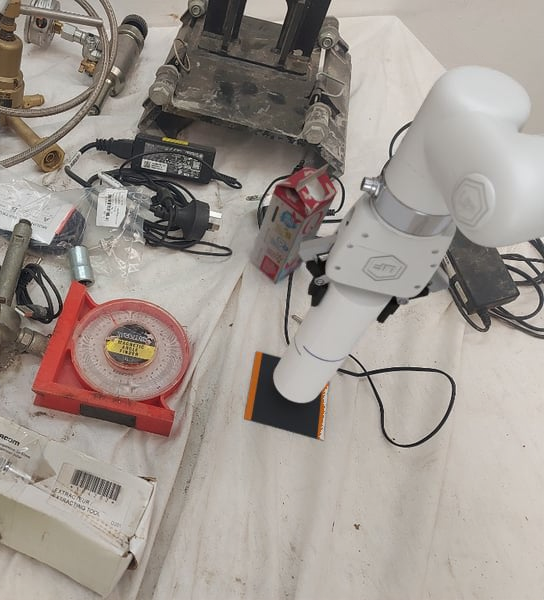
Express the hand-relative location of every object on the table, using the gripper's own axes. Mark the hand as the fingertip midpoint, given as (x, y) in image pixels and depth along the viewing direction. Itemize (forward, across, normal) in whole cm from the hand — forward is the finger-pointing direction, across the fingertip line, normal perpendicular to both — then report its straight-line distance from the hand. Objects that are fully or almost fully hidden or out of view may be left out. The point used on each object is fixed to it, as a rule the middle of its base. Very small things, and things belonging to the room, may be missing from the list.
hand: (347, 304), depth 69 cm
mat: (+25, 0, 0) cm, 25 cm away
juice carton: (+25, -5, +25) cm, 36 cm away
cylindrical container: (+20, 0, 0) cm, 20 cm away
